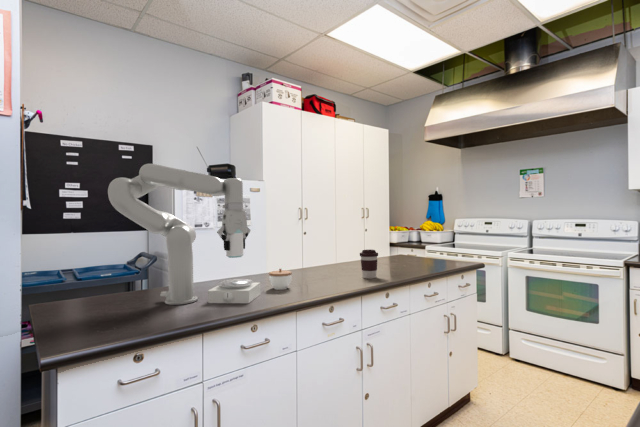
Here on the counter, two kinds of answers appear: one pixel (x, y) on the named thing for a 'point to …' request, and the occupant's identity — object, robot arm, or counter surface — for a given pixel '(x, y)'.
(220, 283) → the scale pan
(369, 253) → the coffee cup
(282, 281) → the lidded jar
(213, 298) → the scale base
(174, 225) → the robot arm
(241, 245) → the can
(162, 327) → the counter surface
